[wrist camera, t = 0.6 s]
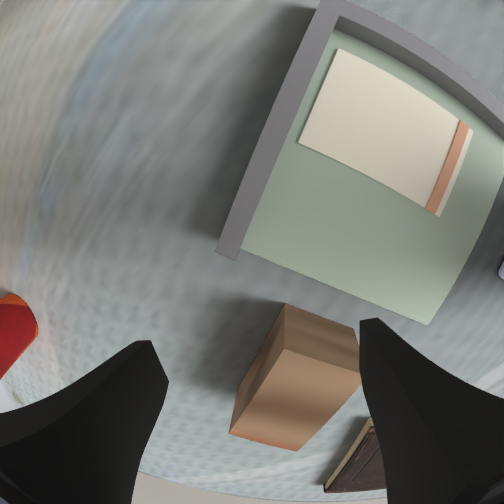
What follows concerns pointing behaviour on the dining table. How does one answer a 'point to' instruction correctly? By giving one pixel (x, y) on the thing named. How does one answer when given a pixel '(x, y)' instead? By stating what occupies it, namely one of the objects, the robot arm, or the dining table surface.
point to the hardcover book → (360, 465)
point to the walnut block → (296, 380)
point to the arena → (371, 165)
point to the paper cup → (15, 330)
